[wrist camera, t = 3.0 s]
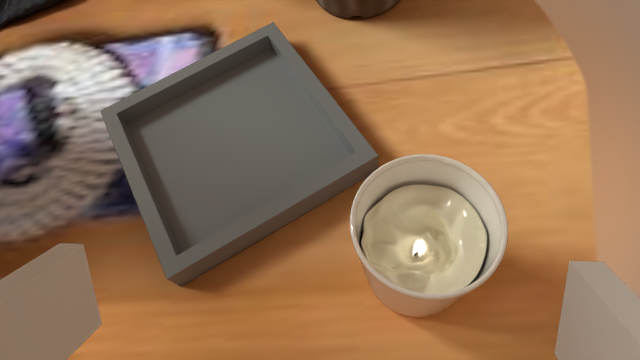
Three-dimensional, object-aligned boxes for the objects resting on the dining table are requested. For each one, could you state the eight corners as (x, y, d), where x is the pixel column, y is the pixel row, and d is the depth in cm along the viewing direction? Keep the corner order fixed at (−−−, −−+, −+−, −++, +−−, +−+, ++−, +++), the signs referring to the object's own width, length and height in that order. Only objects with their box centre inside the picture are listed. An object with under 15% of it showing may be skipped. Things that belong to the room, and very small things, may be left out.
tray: (181, 286, 39) (166, 278, 36) (115, 126, 49) (100, 110, 46) (378, 170, 42) (378, 155, 39) (278, 41, 52) (273, 22, 49)
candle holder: (349, 315, 36) (337, 283, 25) (366, 211, 40) (361, 146, 30) (468, 337, 34) (508, 312, 23) (472, 225, 38) (508, 161, 28)
